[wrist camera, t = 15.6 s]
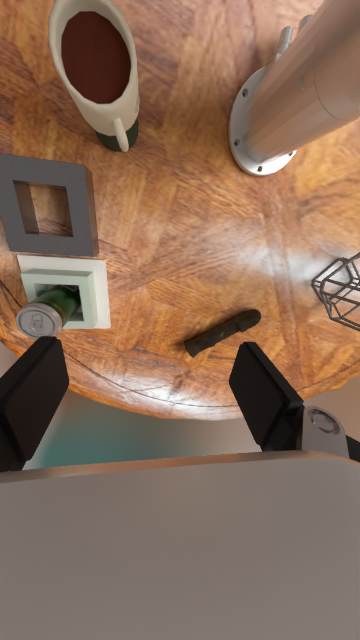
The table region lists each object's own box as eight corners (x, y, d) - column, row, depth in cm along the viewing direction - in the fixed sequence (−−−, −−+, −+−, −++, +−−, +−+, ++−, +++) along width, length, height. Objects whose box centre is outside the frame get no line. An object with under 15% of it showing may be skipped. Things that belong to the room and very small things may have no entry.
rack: (20, 254, 33) (0, 258, 28) (105, 259, 35) (99, 264, 31) (39, 325, 39) (25, 338, 34) (110, 326, 41) (106, 338, 37)
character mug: (152, 163, 30) (156, 124, 18) (110, 178, 30) (87, 148, 18) (123, 63, 25) (103, -78, 13) (72, 80, 25) (8, -46, 13)
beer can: (54, 277, 34) (13, 301, 24) (86, 285, 36) (60, 311, 25) (53, 304, 36) (13, 336, 26) (83, 311, 38) (57, 344, 27)
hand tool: (189, 351, 48) (193, 362, 44) (182, 339, 46) (185, 350, 42) (257, 317, 47) (268, 326, 42) (253, 304, 45) (264, 312, 41)
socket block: (3, 160, 27) (-19, 150, 24) (91, 172, 29) (84, 165, 26) (25, 248, 32) (10, 251, 29) (99, 253, 35) (93, 256, 31)
